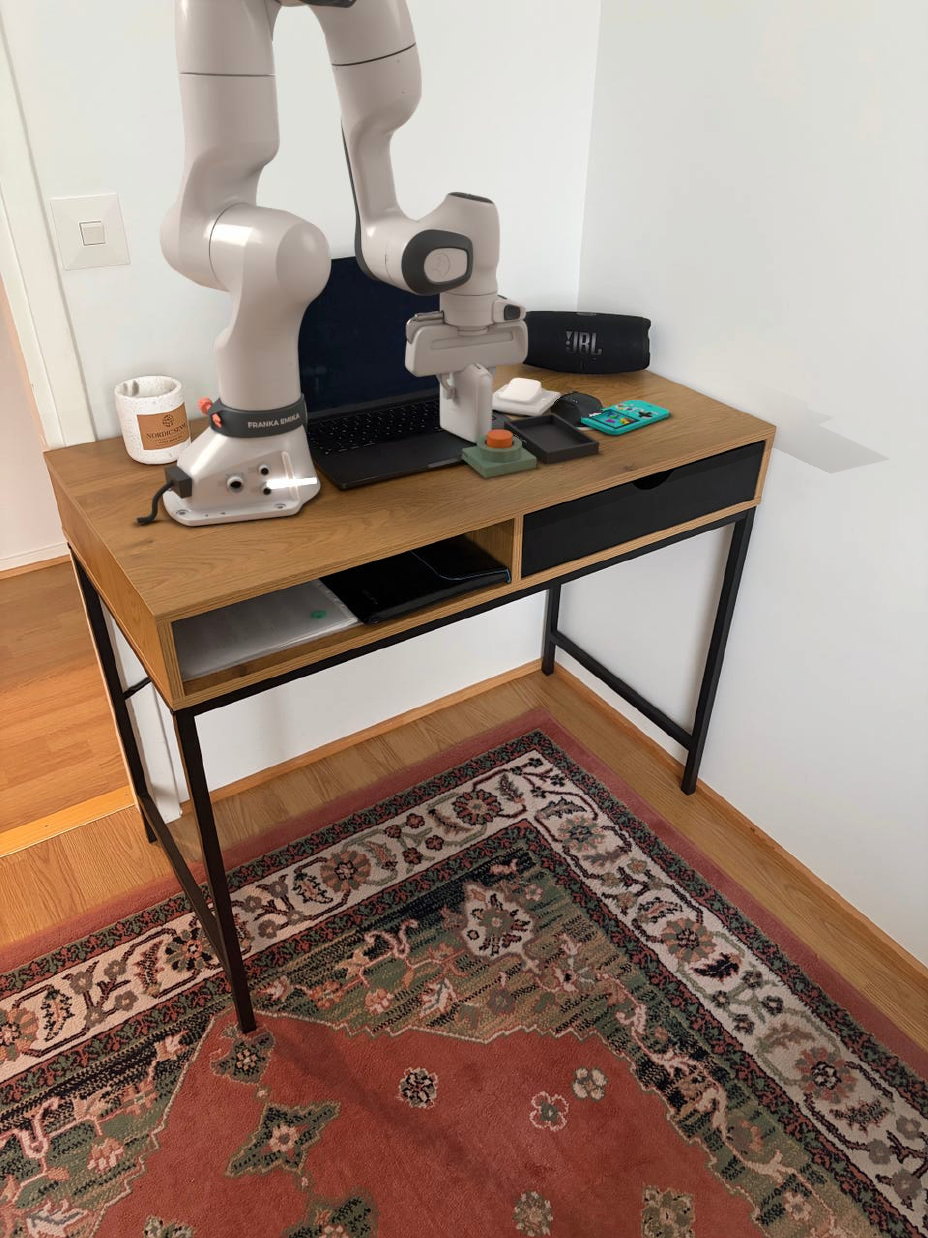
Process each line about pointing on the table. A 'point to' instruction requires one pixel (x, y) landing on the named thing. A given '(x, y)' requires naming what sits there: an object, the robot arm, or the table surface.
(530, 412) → the light switch
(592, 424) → the handheld gaming console
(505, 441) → the button
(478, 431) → the photo printer
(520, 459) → the button housing
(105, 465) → the table surface
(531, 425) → the tray
